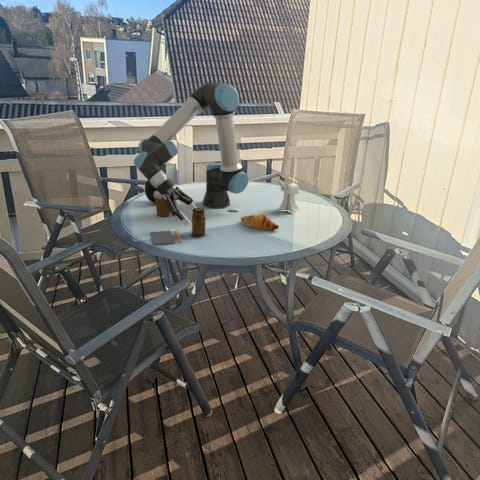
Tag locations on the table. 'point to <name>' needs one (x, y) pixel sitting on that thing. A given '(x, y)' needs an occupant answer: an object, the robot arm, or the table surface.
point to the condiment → (198, 223)
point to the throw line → (178, 237)
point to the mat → (162, 237)
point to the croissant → (259, 222)
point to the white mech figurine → (289, 194)
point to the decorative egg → (150, 191)
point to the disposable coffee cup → (161, 205)
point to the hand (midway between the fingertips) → (194, 219)
